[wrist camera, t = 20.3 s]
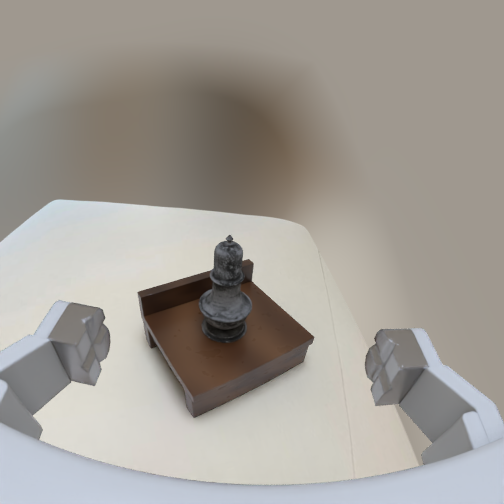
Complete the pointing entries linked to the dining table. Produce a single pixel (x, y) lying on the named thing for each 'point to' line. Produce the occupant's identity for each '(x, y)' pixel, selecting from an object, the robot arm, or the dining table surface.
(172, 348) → the shelf
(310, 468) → the dining table surface
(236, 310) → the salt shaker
